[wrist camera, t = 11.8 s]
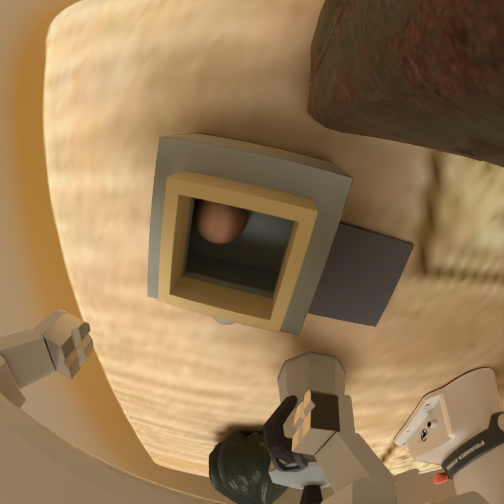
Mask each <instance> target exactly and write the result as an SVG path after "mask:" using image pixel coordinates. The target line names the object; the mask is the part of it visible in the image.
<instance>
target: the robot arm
mask: <svg viewBox="0 0 504 504" xmlns="http://www.w3.org/2000/svg"><path fill="white" fill-rule="evenodd" d="M89 332H90V326H89V324H88V323H87V322H85V321H83V320H81V319H79V318H77V317H75V316H72V315H71V314H69V313H67V312H64V311H63V310H61V309H55V310H54V311H53V312H51V313H50V314H49V315H48V316H47V317H46V318H45V319H44V320H43V321H42V322H41V323H40V324H39V325H38V326H36V327H35V328H34V329H33V330H30V329H29V330H25V331H22V332H19V333H15V334H11V335H7V336H4V337H0V504H229V503H224V502H219V501H215V500H211V499H207V498H203V497H199V496H195V495H191V494H188V493H185V492H181V491H178V490H175V489H172V488H169V487H166V486H163V485H160V484H157V483H154V482H152V481H149V480H147V479H144V478H142V477H139V476H137V475H134V474H132V473H129V472H127V471H125V470H123V469H120V468H118V467H116V466H114V465H112V464H110V463H108V462H105V461H104V460H101V459H100V458H97V457H96V456H93V455H92V454H90V453H88V452H86V451H84V450H83V449H81V448H79V447H77V446H75V445H74V444H72V443H70V442H68V441H67V440H65V439H64V438H62V437H61V436H59V435H57V434H56V433H54V432H53V431H51V430H50V429H48V428H47V427H45V426H44V425H42V424H41V423H39V422H38V421H37V420H35V419H34V418H32V417H31V416H30V415H28V414H27V413H26V412H24V411H23V410H22V409H20V407H21V406H22V405H23V403H24V402H25V401H26V400H25V396H24V394H23V393H22V391H21V388H23V387H25V386H27V385H29V384H31V383H33V382H35V381H37V380H40V379H41V378H44V377H46V376H48V375H50V374H52V373H54V372H56V371H57V372H59V373H61V374H63V375H65V376H67V377H68V378H70V379H73V377H74V376H75V375H76V374H77V372H78V371H79V370H80V368H81V365H80V363H82V362H84V361H87V359H88V358H89V357H90V355H91V352H92V349H93V341H92V338H91V337H90V335H89V334H88V333H89ZM55 370H56V371H55ZM294 428H295V429H296V433H295V434H294V436H293V440H292V452H296V453H303V454H310V455H315V456H314V457H315V459H316V460H317V462H318V464H319V466H320V468H321V469H322V471H323V473H324V475H325V477H326V478H327V480H328V482H329V484H330V486H331V487H332V489H333V491H334V493H335V494H333V495H332V496H330V497H329V498H327V499H325V500H324V501H322V502H321V504H397V496H396V486H395V478H394V476H393V475H392V474H391V472H390V471H389V470H388V469H387V468H386V466H385V465H384V464H383V463H382V462H381V460H380V459H379V458H378V457H377V455H376V454H375V453H374V452H373V450H372V449H371V448H370V447H369V446H368V444H367V443H366V442H365V441H364V439H363V438H362V437H361V436H360V434H358V433H355V427H354V417H353V409H352V401H351V397H350V396H349V395H341V394H335V393H328V392H321V391H314V390H308V391H307V392H306V394H305V395H304V401H303V402H301V403H300V404H299V406H298V408H297V410H296V413H295V418H294ZM394 443H395V444H396V445H399V446H404V447H408V448H409V451H410V454H411V456H412V457H413V459H415V460H416V461H419V462H424V463H430V464H435V465H441V467H442V468H443V469H444V471H445V472H443V473H438V474H436V475H435V476H434V477H435V478H434V479H433V480H434V481H433V482H434V483H436V484H440V483H444V482H446V481H447V479H453V480H454V484H455V489H456V494H457V496H453V497H450V498H446V499H442V500H439V501H435V502H430V503H425V504H504V407H503V404H502V401H501V398H500V394H499V391H498V387H497V382H496V377H495V372H494V371H493V370H492V369H490V368H481V369H477V370H474V371H471V372H469V373H467V374H465V375H463V376H461V377H459V378H458V379H456V380H454V381H453V382H451V383H450V384H448V385H447V386H445V387H443V388H441V389H439V390H436V391H434V392H431V393H429V394H427V395H426V396H424V397H423V399H422V400H421V402H420V403H419V405H418V406H417V408H416V409H415V411H414V412H413V414H412V415H411V417H410V418H409V419H408V421H407V422H406V424H405V425H404V426H403V428H402V429H401V430H400V432H399V433H398V434H397V436H396V437H395V438H394Z"/></svg>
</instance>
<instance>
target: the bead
mask: <svg viewBox="0 0 504 504" xmlns="http://www.w3.org/2000/svg"><path fill="white" fill-rule="evenodd" d="M247 221H248V212H247V209H243V208H239V207H234V206H230V205H226V204H221V203H217V202H212V201H207V200H203V199H200V200H199V201H198V203H197V205H196V207H195V210H194V223H195V226H196V229H197V231H198V232H199V233H200V235H201V236H202V237H203V238H205V239H206V240H208V241H210V242H213V243H219V244H222V243H228V242H231V241H233V240H235V239H236V238H238V237H239V236H240V235H241V234H242V233H243V231H244V229H245V227H246V225H247Z"/></svg>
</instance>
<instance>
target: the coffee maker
mask: <svg viewBox="0 0 504 504" xmlns="http://www.w3.org/2000/svg"><path fill="white" fill-rule="evenodd" d="M278 385H279V393H280V401H281V404H280V405H279V407H278V408H277V409H276V410H275V412H274V413H273V414H272V415H271V417H270V418H269V419H268V420H267V422H266V423H265V424H264V425H263V433H264V439H265V446H266V448H267V450H268V451H269V453H270V454H272V455H271V456H270V457H271V463H270V467H269V470H268V473H269V475H270V477H271V479H272V482H273V483H276V484H280V485H284V486H288V487H293V488H297V489H304V490H303V494H302V497H301V501H300V504H321V502H322V501H323V499H322V495H321V489H320V488H323V487H329V486H330V484H329V482H328V480H327V478H326V477H325V475H324V473H323V471H322V469H321V468H320V466H319V464H318V462H317V460H316V459H315V457H314V456H315V455H310V454H303V453H296V452H292V440H293V436H294V434H295V433H296V429H295V428H294V418H295V413H296V410H297V408H298V406H299V404H300V403H301V402H303V401H304V395H305V394H306V392H307V391H308V390H314V391H321V392H328V393H335V394H341V395H344V388H345V370H344V368H343V367H342V365H341V364H340V362H339V361H338V359H337V358H336V356H331V355H325V354H319V353H314V352H308V353H305V354H303V355H300V356H297V357H295V358H292V359H290V360H287V361H285V362H284V364H283V367H282V369H281V371H280V374H279V376H278Z"/></svg>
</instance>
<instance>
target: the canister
mask: <svg viewBox="0 0 504 504" xmlns="http://www.w3.org/2000/svg"><path fill="white" fill-rule="evenodd" d="M311 75H312V76H311V83H312V84H311V86H310V97H309V107H308V113H309V114H310V115H311V116H312V117H313V118H314V119H315V120H317V121H318V122H319V123H321V124H322V125H323V126H324V127H326V128H330V129H333V130H336V131H339V132H343V133H350V134H357V135H364V136H370V137H376V138H382V139H387V140H392V141H398V142H403V143H407V144H412V145H416V146H421V147H425V148H430V149H434V150H438V151H443V152H447V153H452V154H456V155H461V156H465V157H468V158H472V159H475V160H479V161H486V162H489V163H492V164H495V165H498V166H501V167H504V0H325V3H324V5H323V7H322V10H321V12H320V16H319V19H318V23H317V27H316V30H315V34H314V38H313V41H312V45H311Z"/></svg>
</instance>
